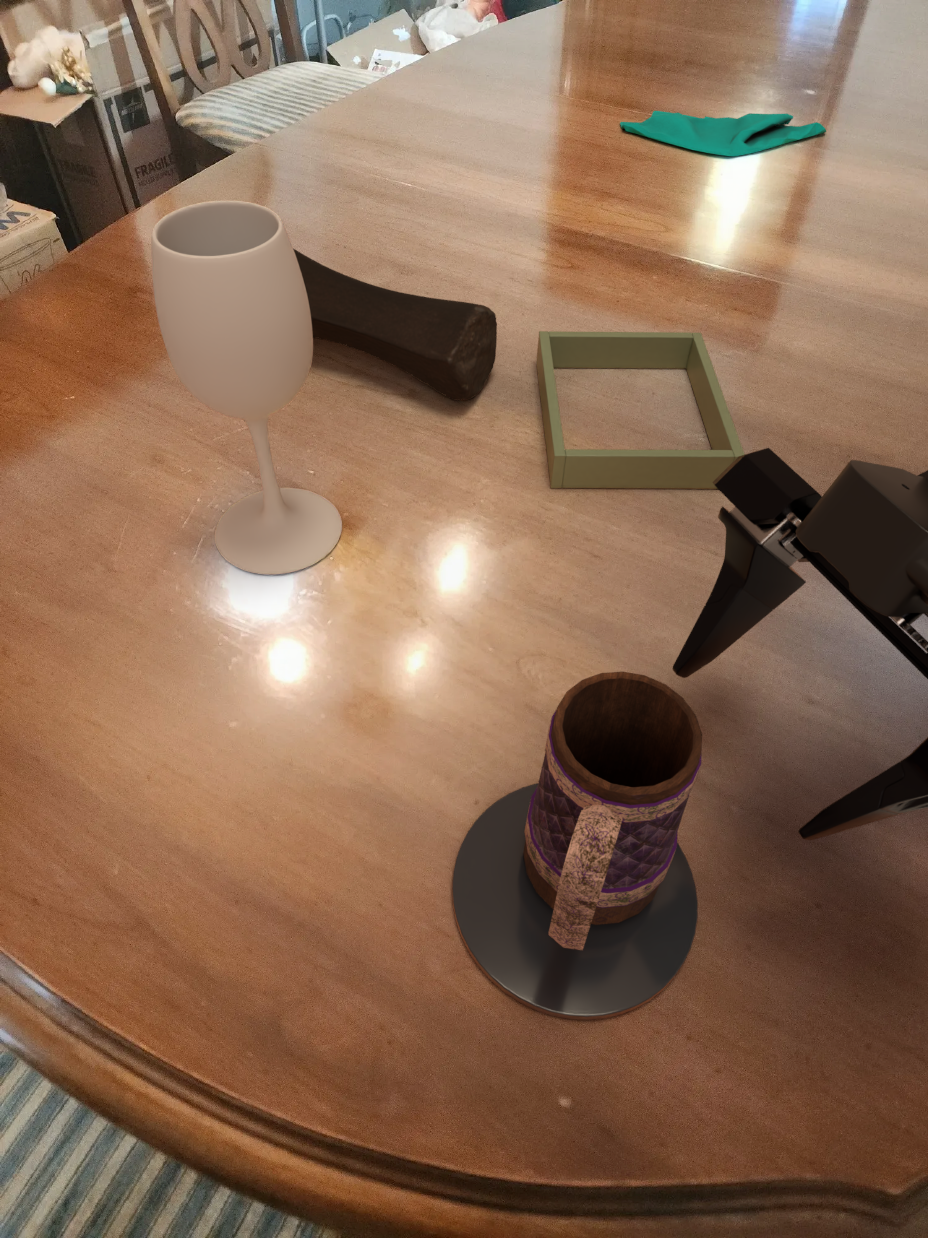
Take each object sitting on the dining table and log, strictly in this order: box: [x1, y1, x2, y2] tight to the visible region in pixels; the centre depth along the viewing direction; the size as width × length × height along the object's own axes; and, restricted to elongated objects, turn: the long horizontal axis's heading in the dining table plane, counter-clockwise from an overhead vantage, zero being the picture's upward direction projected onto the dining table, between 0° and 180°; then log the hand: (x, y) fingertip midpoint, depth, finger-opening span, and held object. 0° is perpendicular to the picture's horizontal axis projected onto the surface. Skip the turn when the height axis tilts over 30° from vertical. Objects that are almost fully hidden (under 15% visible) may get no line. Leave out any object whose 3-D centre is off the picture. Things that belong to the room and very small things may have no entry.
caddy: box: [535, 330, 746, 490], centre depth 67 cm, size 14×17×3 cm
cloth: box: [619, 110, 827, 157], centre depth 107 cm, size 26×14×2 cm, turn 77°
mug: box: [523, 671, 703, 950], centre depth 37 cm, size 10×7×12 cm
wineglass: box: [150, 199, 343, 576], centre depth 51 cm, size 9×9×21 cm
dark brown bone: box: [293, 247, 498, 401], centre depth 71 cm, size 11×10×28 cm
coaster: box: [451, 782, 699, 1021], centre depth 42 cm, size 12×12×1 cm
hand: (736, 749), depth 38 cm, fingers open, 9 cm apart
